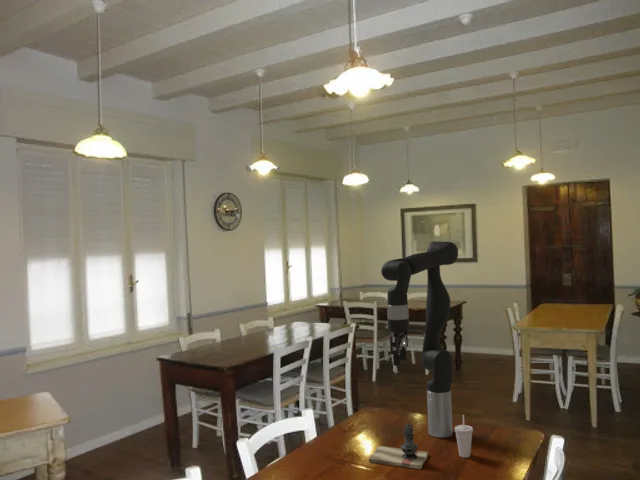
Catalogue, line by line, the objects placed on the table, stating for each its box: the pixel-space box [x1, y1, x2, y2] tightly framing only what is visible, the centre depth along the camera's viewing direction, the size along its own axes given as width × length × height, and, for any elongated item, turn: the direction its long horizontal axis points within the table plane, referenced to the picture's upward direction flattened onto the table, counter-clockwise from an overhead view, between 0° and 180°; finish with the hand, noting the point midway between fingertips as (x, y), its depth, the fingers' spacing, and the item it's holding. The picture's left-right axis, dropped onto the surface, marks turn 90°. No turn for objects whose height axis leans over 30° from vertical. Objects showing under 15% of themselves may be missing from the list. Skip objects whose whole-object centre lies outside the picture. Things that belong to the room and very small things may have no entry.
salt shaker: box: [400, 421, 418, 460], centre depth 188 cm, size 6×6×12 cm
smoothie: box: [454, 414, 474, 458], centre depth 190 cm, size 6×6×14 cm
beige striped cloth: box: [368, 445, 429, 470], centre depth 189 cm, size 12×18×1 cm, turn 66°
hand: (400, 362), depth 192 cm, fingers open, 8 cm apart
